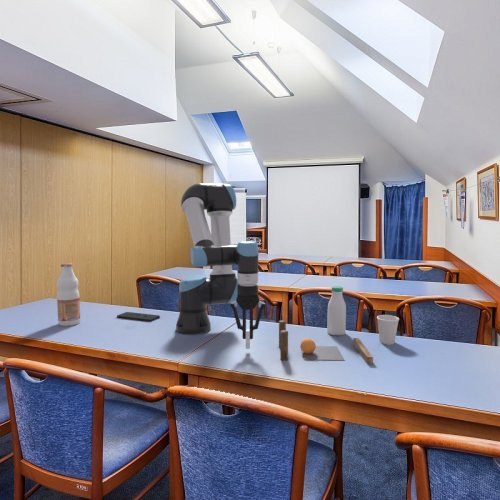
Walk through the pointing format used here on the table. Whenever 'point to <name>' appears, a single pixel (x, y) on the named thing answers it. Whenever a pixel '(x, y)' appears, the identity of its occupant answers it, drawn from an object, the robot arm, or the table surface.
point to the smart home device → (138, 316)
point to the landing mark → (324, 353)
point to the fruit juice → (68, 297)
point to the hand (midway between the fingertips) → (247, 347)
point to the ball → (308, 346)
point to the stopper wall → (363, 351)
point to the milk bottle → (336, 313)
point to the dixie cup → (387, 328)
